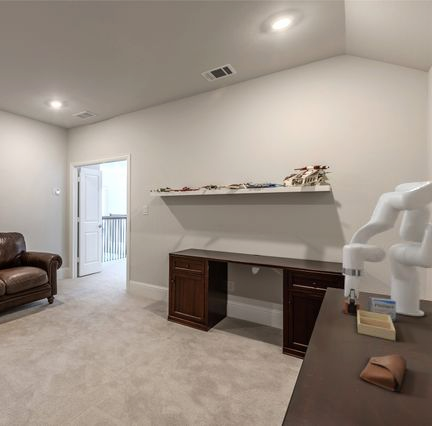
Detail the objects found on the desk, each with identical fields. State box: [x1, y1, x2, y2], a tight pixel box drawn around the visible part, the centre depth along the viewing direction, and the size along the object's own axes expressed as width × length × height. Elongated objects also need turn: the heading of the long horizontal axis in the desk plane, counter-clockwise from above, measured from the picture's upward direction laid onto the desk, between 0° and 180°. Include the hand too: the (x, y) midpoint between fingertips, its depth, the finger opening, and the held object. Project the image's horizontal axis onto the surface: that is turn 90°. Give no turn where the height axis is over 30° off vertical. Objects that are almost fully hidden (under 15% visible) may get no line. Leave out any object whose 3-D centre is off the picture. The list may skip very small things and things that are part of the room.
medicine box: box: [368, 296, 397, 323], centre depth 129 cm, size 8×4×9 cm, turn 68°
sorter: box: [356, 309, 396, 342], centre depth 119 cm, size 20×10×4 cm, turn 141°
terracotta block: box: [344, 299, 360, 316], centre depth 136 cm, size 5×5×5 cm
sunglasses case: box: [359, 354, 407, 392], centre depth 85 cm, size 18×7×7 cm
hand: (351, 311), depth 136 cm, fingers open, 6 cm apart
